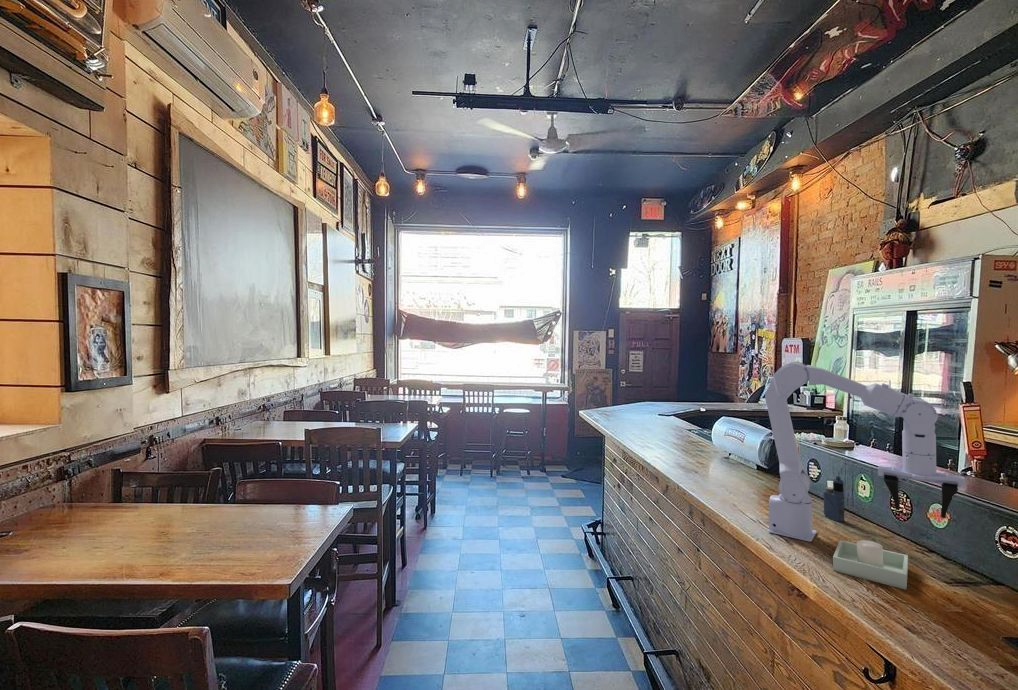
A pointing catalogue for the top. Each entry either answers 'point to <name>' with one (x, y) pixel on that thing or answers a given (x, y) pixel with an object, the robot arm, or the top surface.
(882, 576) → the bus tub
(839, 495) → the vaping device
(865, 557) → the white rounded cylinder
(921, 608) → the top surface
